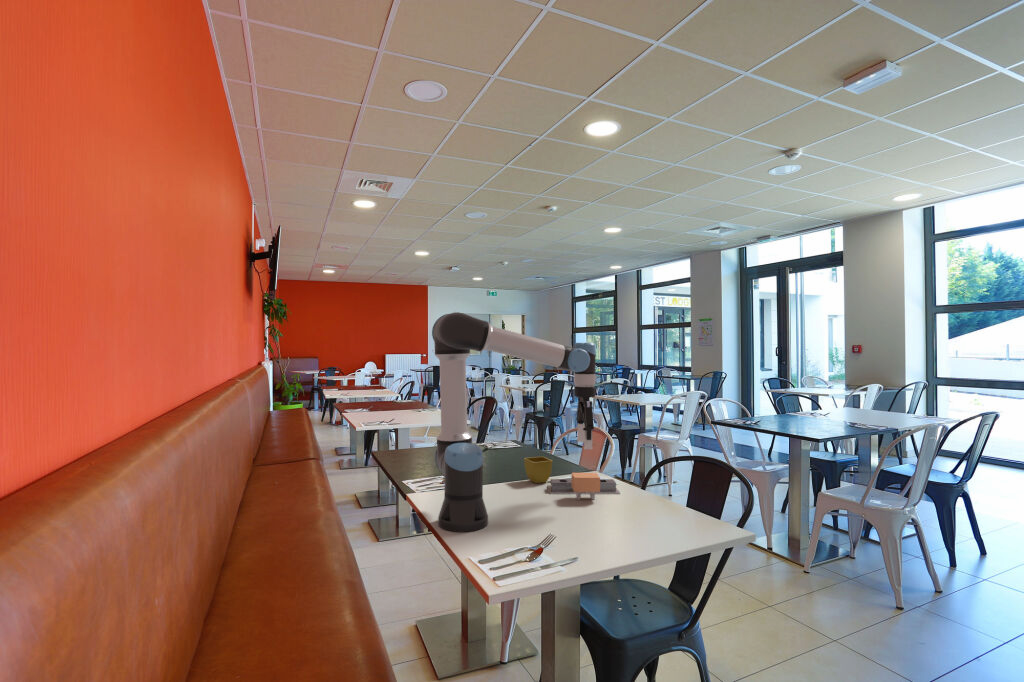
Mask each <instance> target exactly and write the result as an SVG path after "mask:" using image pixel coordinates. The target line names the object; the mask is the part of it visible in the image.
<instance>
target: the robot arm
mask: <svg viewBox="0 0 1024 682" xmlns="http://www.w3.org/2000/svg"><path fill="white" fill-rule="evenodd" d="M431 336H432V340H433V343H434V356H435V357H436V358H437V359H438V360H439V388H440V389H439V390H440V396H439V397H440V431H441V432H440V433H439V434H438V435H437V437H436V450H435V454H434V461H435V464H436V467H437V469H438V470H439V472H441V473H442V475H443V476H444V497H443V502H442V504H441V507H440V510H439V513H438V517H437V519H438V523H437V524H438V526H439V527H440V528H441V529H443V530H446V531H450V532H456V533H457V532H459V533H461V532H463V533H465V532H467V533H468V532H474V531H478V530H481V529H483V528H485V527H487V526H488V524H489V514H488V511H487V508H486V504H485V501H484V497H483V489H484V488H483V486H484V485H483V484H484V483H483V481H484V479H483V478H484V453H483V449H482V448H481V446H478V445H477V444H474V443H473V435H472V434H471V433H469V431H468V411H467V410H468V408H467V407H468V405H467V370H466V369H467V366H466V363H467V362H466V359H467V358H468V357H469V356H470V355H471V350H472V351H476V352H480V353H481V352H483V351H486V350H487V351H490V352H493V353H498V354H503V355H506V356H510V357H515V358H519V359H521V360H526V361H531V362H534V363H538V364H542V366H543V368H544V369H545V370H552V371H553V370H554V371H555V370H557V371H558V370H560V371H570V372H573V385H574V386H573V392H574V393H573V396H574V397H576V398H577V409H576V410H577V411H576V419H575V420H576V424H577V428H576V429H577V430H576V431H577V433H576V434H577V438H576V439H577V440H576V442H577V443H581V442H583V449H584V450H593V430H594V429H595V426H594V415H593V401H592V400H590V398H595V397H596V380H597V379H598V376H596V361H597V360H596V357H597V353H596V345H595V343H593V342H575V343H574V346H573V347H571V346H567V345H563V344H560V343H557V342H552V341H549V340H545V339H542V338H538V337H534V336H530V335H526V334H522V333H519V332H514V331H511V330H507V329H503V328H501V327H496V326H493V325H491V323H490V322H489V321H486V320H483V319H479V318H477V317H475V316H471V315H468V314H466V313H463V312H460V311H459V312H451V313H445V314H443V315H441V316H440V317H438V318H437V319H436V320H435V322H434V323H433V326H432V329H431Z"/></svg>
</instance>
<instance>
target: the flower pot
mask: <svg viewBox="0 0 1024 682" xmlns="http://www.w3.org/2000/svg"><path fill="white" fill-rule="evenodd" d="M523 461H524V469H525V473H526V476H527V478H528V480H529V481H530V482H531V483H534V484H543V483H546V482H548V480H549V479H550V477H551V474H552V470H553V469H552V468H553V459H550V458H547V457H545V456H534V457H533V456H532V457H524V458H523Z"/></svg>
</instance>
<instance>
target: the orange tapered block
mask: <svg viewBox="0 0 1024 682" xmlns="http://www.w3.org/2000/svg"><path fill="white" fill-rule="evenodd" d="M571 479H572V488H573V490H574V492H576V494H575V496H576V500H578V501H579V500H581V497H582V496H581V495H582V494H581V492H590V494H589V496H590V500H595V498H596V494H595V492H600V479H601V477H600V475H598V472H571Z"/></svg>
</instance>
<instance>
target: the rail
mask: <svg viewBox="0 0 1024 682" xmlns="http://www.w3.org/2000/svg"><path fill="white" fill-rule="evenodd" d="M546 487H547V490H548V493H549V494H550V495H576V492H574V490H573V488H572V478H570V479H569V478H559V479H558V478H557V479H553V478H552V479H550V485H549V484H548V485H546ZM605 494H607V495H621V492H620V491H619V490H618V488H617V482H616V481H615V480H614V479H613V478H609V479H605V478H600V492H595V495H605ZM581 495H590V492H581Z"/></svg>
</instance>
